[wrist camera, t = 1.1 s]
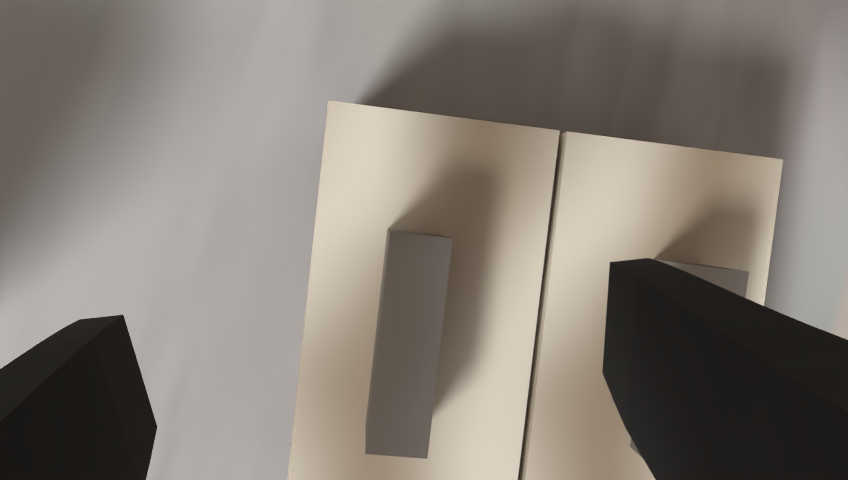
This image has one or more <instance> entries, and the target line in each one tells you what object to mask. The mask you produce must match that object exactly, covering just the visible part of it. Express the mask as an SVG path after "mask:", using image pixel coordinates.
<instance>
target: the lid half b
mask: <svg viewBox="0 0 848 480" xmlns="http://www.w3.org/2000/svg"><path fill="white" fill-rule="evenodd" d="M782 165H783V159H776V158H769V157H761V156H753V155H746V154H738V153H730V152H722V151H715V150H707V149H699V148H692V147H684V146H676V145H668V144H661V143H653V142H645V141H637V140H630V139H622V138H614V137H607V136H599V135H591V134H583V133H576V132H568V131H567V132H565V133H562V134H560V141H559V150H558V158H557V166H556V174H555V183H554V191H553V199H552V208H551V216H550V224H549V233H548V241H547V249H546V258H545V266H544V274H543V283H542V291H541V299H540V307H539V316H538V324H537V332H536V341H535V349H534V357H533V366H532V374H531V382H530V391H529V399H528V407H527V415H526V424H525V432H524V440H523V449H522V457H521V465H520V474H519V480H655V478H654V476H653V474H652V473H651V471H650V469H649V468H648V466H647V464H646V463H645V461H644V459H643V457H642V456H641V454H640V452H639V451H638V449H637V447H636V446H635V444H634V442H633V440H632V439H631V437H630V435H629V433H628V432H627V430H626V428H625V426H624V424H623V421H622V419H621V417H620V414H619V412H618V410H617V408H616V405H615V403H614V401H613V398H612V396H611V393H610V391H609V388H608V386H607V383H606V381H605V378H604V376H603V373H602V369H603V354H604V340H605V325H606V311H607V296H608V282H609V267H610V262H616V261H625V260H634V259H643V258H651V259H654V260H657V261H660V262H663V263H666V264H668V265H671V266H674V267H676V268H678V269H681V270H683V271H686V272H688V273H690V274H693V275H695V276H697V277H699V278H702V279H704V280H706V281H708V282H711V283H713V284H715V285H717V286H720V287H722V288H724V289H726V290H729V291H731V292H733V293H735V294H738V295H740V296H742V297H744V298H747V299H749V300H751V301H753V302H756V303H758V304H760V305H763V306H764V302H765V294H766V286H767V279H768V271H769V264H770V256H771V248H772V241H773V233H774V226H775V218H776V211H777V203H778V195H779V188H780V180H781V173H782Z"/></svg>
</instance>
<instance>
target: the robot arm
mask: <svg viewBox="0 0 848 480" xmlns="http://www.w3.org/2000/svg"><path fill="white" fill-rule="evenodd" d="M602 373H603V376H604V378H605V381H606V383H607V386H608V388H609V391H610V393H611V396H612V398H613V401H614V403H615V405H616V408H617V410H618V412H619V414H620V417H621V419H622V421H623V424H624V426H625V428H626V430H627V432H628V433H629V435H630V437H631V439H632V440H633V442H634V444H635V446H636V447H637V449H638V451H639V452H640V454H641V456H642V457H643V459H644V461H645V463H646V464H647V466H648V468H649V469H650V471H651V473H652V474H653V476H654V478H655V480H848V340H846V339H844V338H841V337H839V336H836V335H833V334H831V333H828V332H826V331H823V330H821V329H818V328H815V327H813V326H810V325H808V324H805V323H803V322H800V321H798V320H796V319H793V318H791V317H788V316H786V315H784V314H781V313H779V312H776V311H774V310H772V309H769V308H767V307H765V306H763V305H760V304H758V303H756V302H753V301H751V300H749V299H747V298H744V297H742V296H740V295H738V294H735V293H733V292H731V291H729V290H726V289H724V288H722V287H720V286H717V285H715V284H713V283H711V282H708V281H706V280H704V279H702V278H699V277H697V276H695V275H693V274H690V273H688V272H686V271H683V270H681V269H678V268H676V267H674V266H671V265H668V264H666V263H663V262H660V261H657V260H654V259H651V258H643V259H634V260H625V261H616V262H610V267H609V282H608V296H607V311H606V325H605V340H604V354H603V369H602ZM156 430H157V425H156V421H155V418H154V415H153V412H152V408H151V405H150V402H149V398H148V395H147V392H146V388H145V385H144V382H143V379H142V375H141V372H140V369H139V365H138V362H137V359H136V355H135V352H134V349H133V346H132V342H131V339H130V336H129V332H128V329H127V326H126V322H125V319H124V316H123V315H118V316H108V317H99V318H90V319H81V320H78V321H76V322H74V323H72V324H70V325H68V326H66V327H65V328H63V329H61V330H60V331H58V332H56V333H55V334H53V335H51V336H50V337H48V338H47V339H45V340H43V341H42V342H40V343H39V344H37V345H36V346H34V347H33V348H31V349H30V350H28V351H27V352H25V353H24V354H22V355H21V356H19V357H18V358H16V359H15V360H13V361H12V362H10V363H9V364H7V365H6V366H4V367H3V368H1V369H0V480H146V476H147V472H148V468H149V464H150V459H151V454H152V449H153V444H154V439H155V435H156Z"/></svg>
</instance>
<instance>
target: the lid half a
mask: <svg viewBox="0 0 848 480" xmlns="http://www.w3.org/2000/svg"><path fill="white" fill-rule="evenodd" d="M559 133H560V130H553V129H545V128H537V127H529V126H522V125H514V124H506V123H498V122H491V121H483V120H475V119H468V118H460V117H452V116H444V115H437V114H429V113H421V112H414V111H406V110H398V109H390V108H383V107H375V106H367V105H359V104H352V103H344V102H336V101H329V100H328V109H327V118H326V127H325V136H324V146H323V155H322V164H321V173H320V182H319V192H318V201H317V210H316V219H315V229H314V238H313V247H312V256H311V266H310V275H309V284H308V293H307V303H306V312H305V321H304V330H303V339H302V349H301V358H300V367H299V376H298V386H297V395H296V404H295V413H294V423H293V432H292V441H291V450H290V460H289V469H288V478H287V480H518V474H519V465H520V457H521V449H522V440H523V432H524V424H525V416H526V407H527V399H528V391H529V382H530V374H531V366H532V357H533V349H534V341H535V332H536V324H537V316H538V307H539V299H540V291H541V282H542V274H543V266H544V258H545V249H546V241H547V233H548V224H549V216H550V208H551V199H552V191H553V183H554V174H555V166H556V158H557V149H558V141H559Z"/></svg>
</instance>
